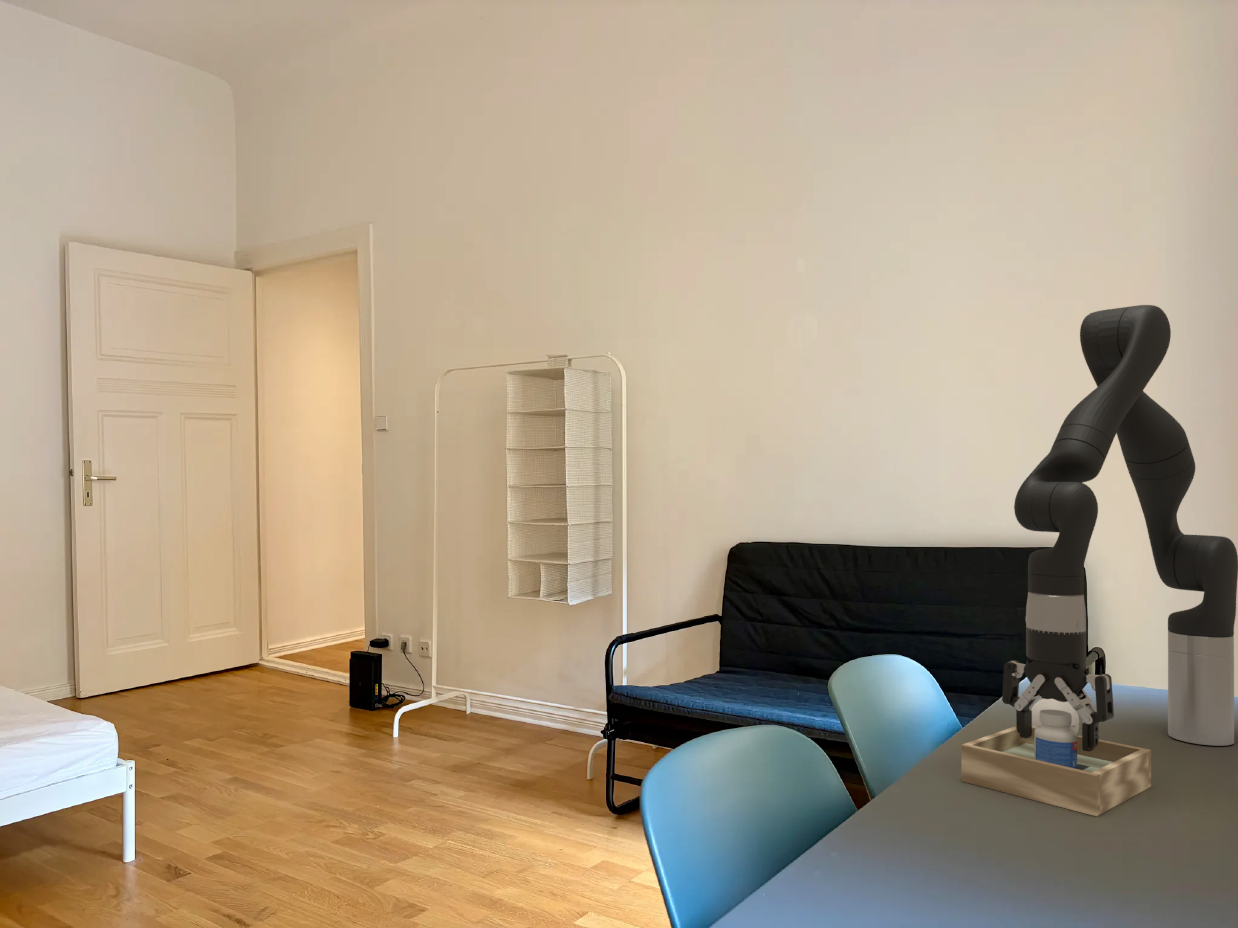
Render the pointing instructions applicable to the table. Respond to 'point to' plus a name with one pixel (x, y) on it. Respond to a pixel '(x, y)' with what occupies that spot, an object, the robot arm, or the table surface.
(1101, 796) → the bore box
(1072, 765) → the pill bottle
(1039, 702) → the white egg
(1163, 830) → the table surface
